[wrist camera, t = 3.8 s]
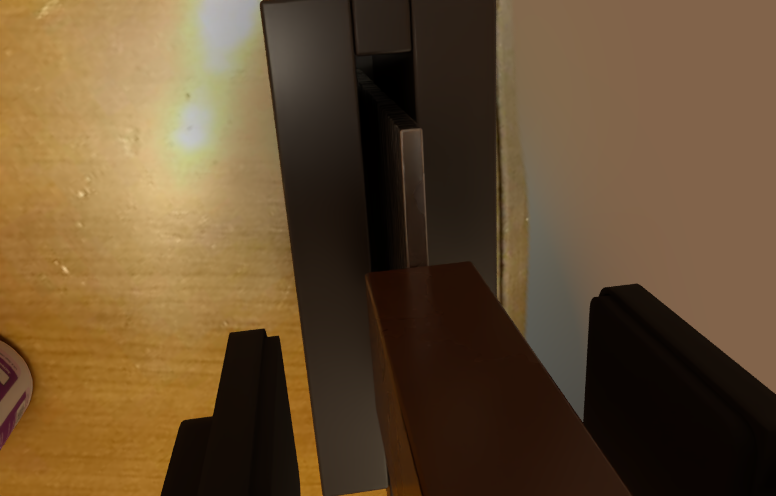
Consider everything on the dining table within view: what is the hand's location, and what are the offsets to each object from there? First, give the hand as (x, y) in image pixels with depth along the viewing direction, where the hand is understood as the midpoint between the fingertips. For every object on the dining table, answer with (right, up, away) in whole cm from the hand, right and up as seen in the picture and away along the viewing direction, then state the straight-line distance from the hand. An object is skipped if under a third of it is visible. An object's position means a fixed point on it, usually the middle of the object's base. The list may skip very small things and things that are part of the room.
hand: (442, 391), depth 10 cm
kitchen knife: (-2, +4, +12) cm, 13 cm away
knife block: (-3, +7, +17) cm, 19 cm away
